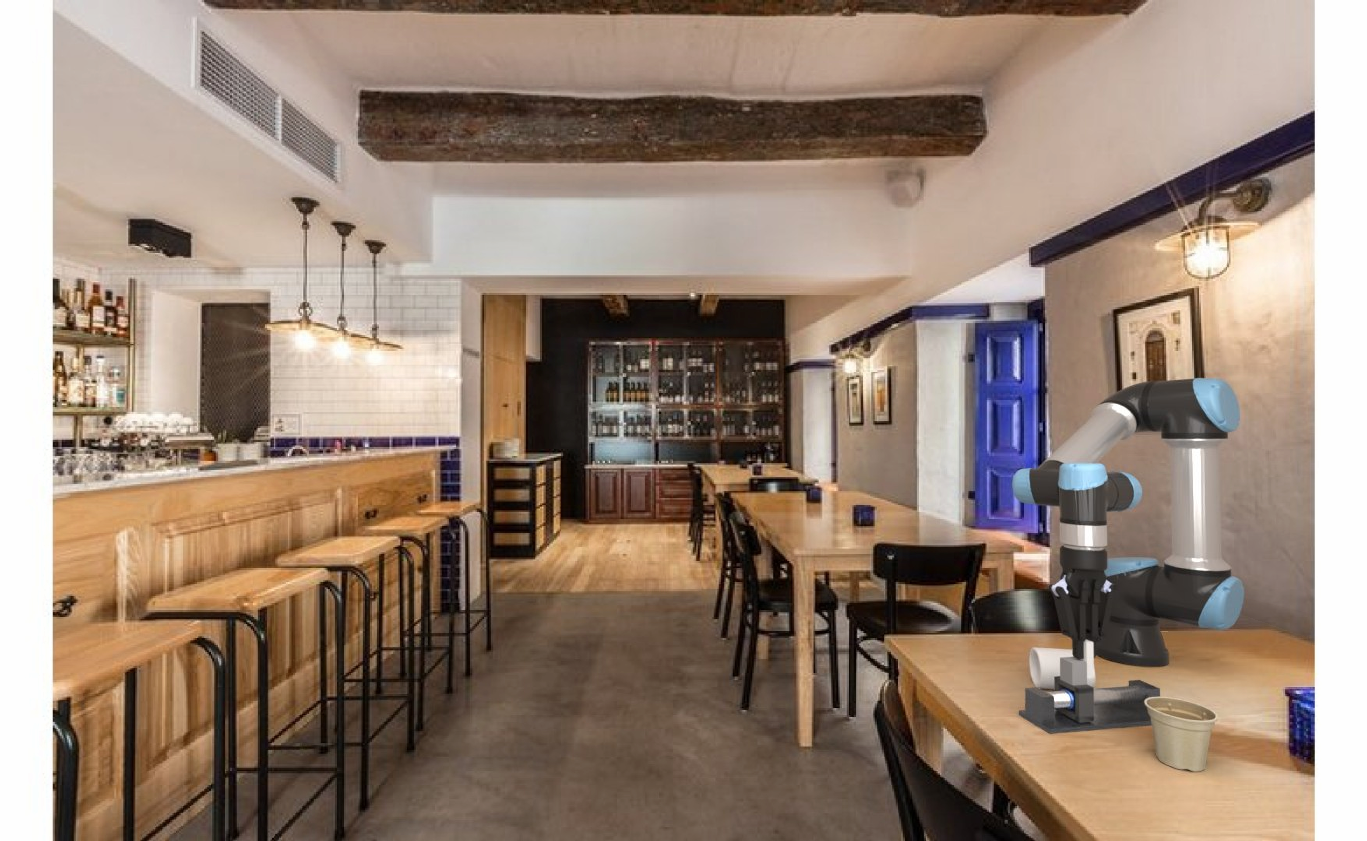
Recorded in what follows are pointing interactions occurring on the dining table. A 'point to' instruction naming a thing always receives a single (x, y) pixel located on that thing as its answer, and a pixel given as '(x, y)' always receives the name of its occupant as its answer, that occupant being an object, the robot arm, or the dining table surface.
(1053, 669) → the mug
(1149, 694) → the pipe rig
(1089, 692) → the collar
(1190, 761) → the flower pot
